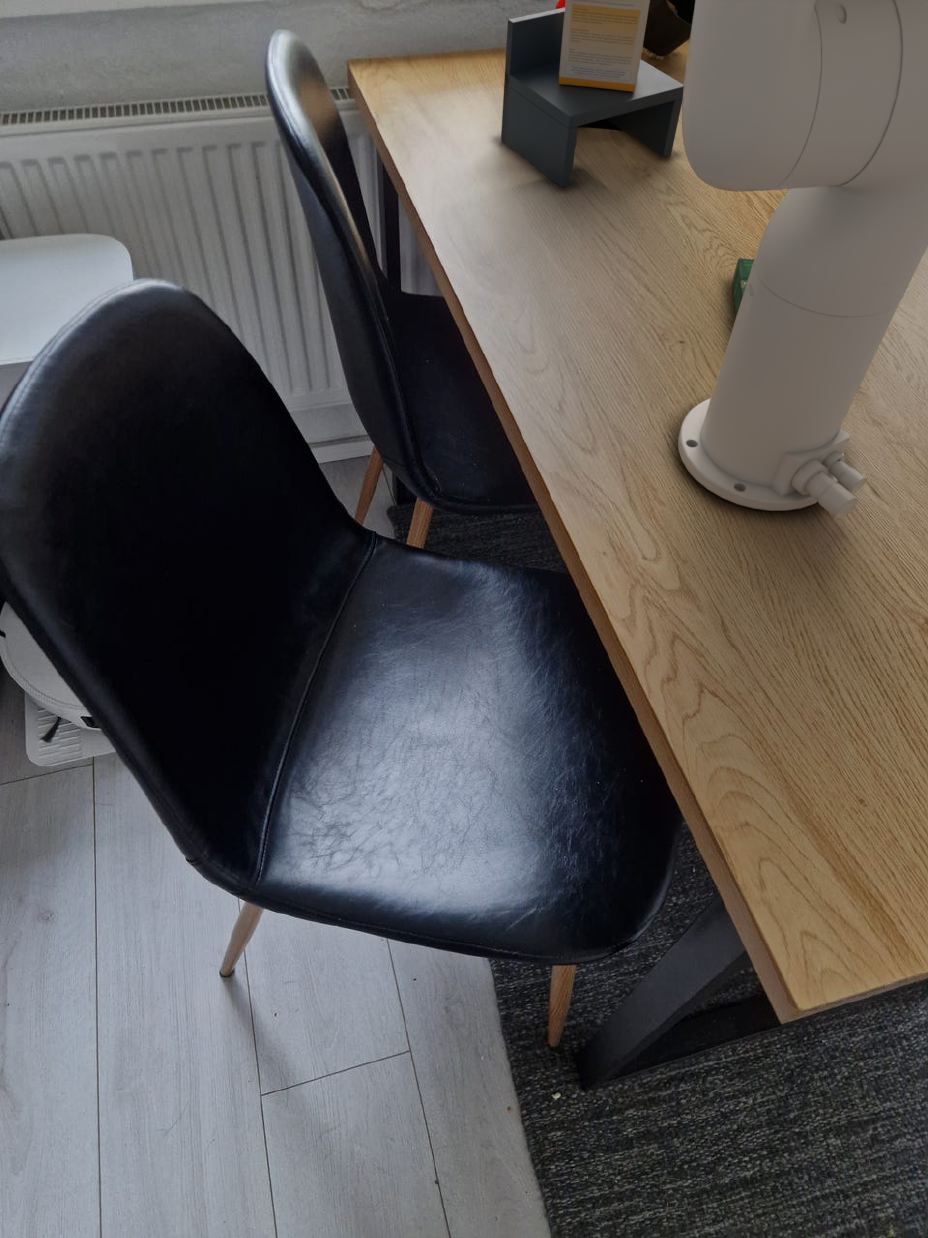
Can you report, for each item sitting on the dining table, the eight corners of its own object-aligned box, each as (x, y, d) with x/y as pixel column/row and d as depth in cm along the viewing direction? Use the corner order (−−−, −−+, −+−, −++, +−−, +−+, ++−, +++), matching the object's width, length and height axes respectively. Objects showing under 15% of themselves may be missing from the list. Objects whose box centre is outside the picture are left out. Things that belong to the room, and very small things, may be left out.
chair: (671, 155, 98) (696, 33, 89) (561, 187, 94) (576, 63, 84) (606, 112, 104) (623, -6, 95) (500, 140, 100) (507, 19, 90)
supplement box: (638, 74, 94) (664, -77, 84) (634, 94, 91) (660, -60, 81) (561, 65, 95) (577, -85, 84) (555, 84, 92) (571, -69, 81)
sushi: (720, -23, 109) (676, 13, 116) (669, -60, 105) (627, -20, 112) (709, 39, 108) (666, 72, 115) (657, 5, 104) (615, 41, 111)
